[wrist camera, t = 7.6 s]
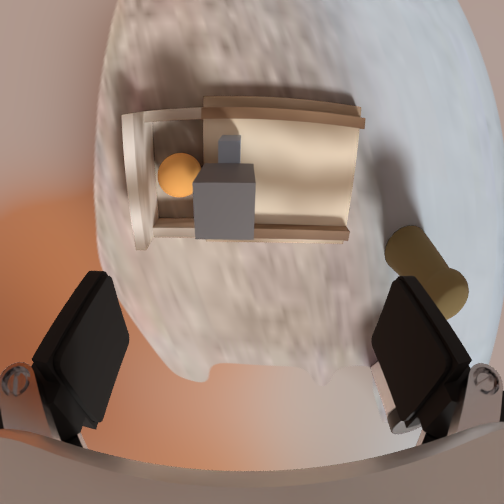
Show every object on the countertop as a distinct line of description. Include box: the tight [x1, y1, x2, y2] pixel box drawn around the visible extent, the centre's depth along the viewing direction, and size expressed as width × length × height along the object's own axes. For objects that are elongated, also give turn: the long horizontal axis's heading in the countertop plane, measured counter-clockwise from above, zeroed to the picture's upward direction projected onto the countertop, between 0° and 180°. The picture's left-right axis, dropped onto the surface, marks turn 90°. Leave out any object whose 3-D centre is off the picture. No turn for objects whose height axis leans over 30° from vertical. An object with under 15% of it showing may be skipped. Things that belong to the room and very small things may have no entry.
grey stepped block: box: [192, 135, 256, 240], centre depth 21 cm, size 7×4×9 cm, turn 178°
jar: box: [371, 361, 421, 434], centre depth 37 cm, size 9×8×12 cm
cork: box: [385, 226, 469, 320], centre depth 26 cm, size 6×6×11 cm
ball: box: [158, 153, 201, 197], centre depth 25 cm, size 4×4×4 cm
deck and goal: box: [122, 96, 365, 250], centre depth 24 cm, size 14×20×5 cm
